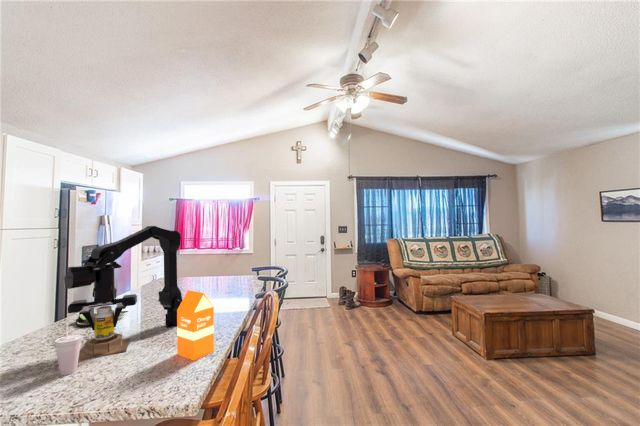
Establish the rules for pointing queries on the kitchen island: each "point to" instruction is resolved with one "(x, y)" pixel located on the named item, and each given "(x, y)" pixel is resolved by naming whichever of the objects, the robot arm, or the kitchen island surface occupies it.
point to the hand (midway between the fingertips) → (104, 328)
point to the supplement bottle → (104, 323)
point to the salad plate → (83, 322)
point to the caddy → (103, 347)
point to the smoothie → (68, 352)
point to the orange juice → (195, 326)
